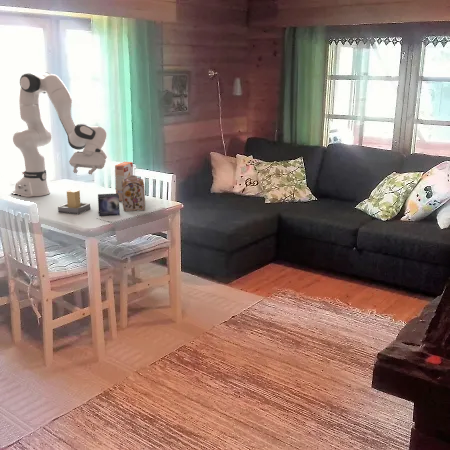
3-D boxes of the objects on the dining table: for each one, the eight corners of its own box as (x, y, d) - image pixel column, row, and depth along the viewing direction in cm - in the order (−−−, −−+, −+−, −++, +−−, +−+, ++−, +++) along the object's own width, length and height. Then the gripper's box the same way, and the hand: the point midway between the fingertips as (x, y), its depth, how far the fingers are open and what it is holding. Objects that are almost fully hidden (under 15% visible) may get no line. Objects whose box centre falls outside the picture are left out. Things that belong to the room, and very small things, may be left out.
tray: (58, 212, 286) (57, 206, 285) (71, 207, 297) (70, 201, 296) (77, 214, 282) (77, 208, 282) (90, 209, 293) (90, 203, 292)
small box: (99, 216, 279) (98, 196, 276) (98, 213, 285) (97, 194, 282) (120, 215, 282) (119, 195, 279) (118, 212, 288) (117, 193, 285)
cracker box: (125, 201, 310) (124, 165, 304) (115, 201, 311) (114, 165, 305) (134, 196, 323) (133, 161, 317) (124, 195, 324) (123, 161, 318)
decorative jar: (122, 206, 300) (121, 174, 295) (143, 205, 303) (142, 173, 298) (123, 211, 289) (122, 178, 284) (145, 210, 292) (144, 177, 287)
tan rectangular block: (67, 209, 288) (66, 191, 285) (72, 207, 292) (71, 189, 289) (76, 210, 287) (74, 192, 284) (80, 208, 291) (79, 190, 288)
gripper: (72, 147, 300) (63, 168, 294) (104, 150, 294) (96, 171, 288) (77, 154, 305) (68, 174, 299) (109, 157, 299) (100, 177, 293)
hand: (82, 173), depth 293 cm, fingers open, 8 cm apart
